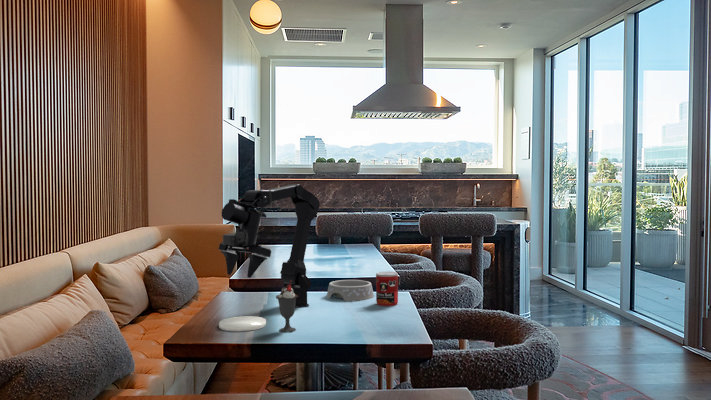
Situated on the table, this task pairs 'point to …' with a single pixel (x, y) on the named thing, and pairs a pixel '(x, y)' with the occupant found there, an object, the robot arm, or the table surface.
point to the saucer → (242, 323)
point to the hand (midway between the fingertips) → (238, 276)
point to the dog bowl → (350, 290)
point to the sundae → (287, 306)
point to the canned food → (387, 288)
